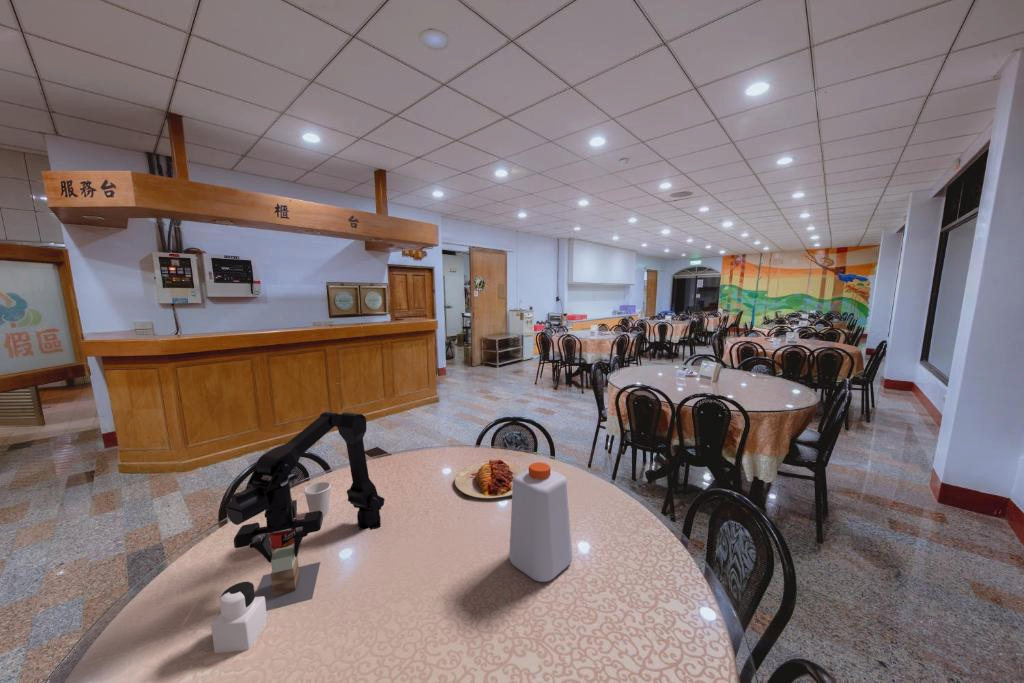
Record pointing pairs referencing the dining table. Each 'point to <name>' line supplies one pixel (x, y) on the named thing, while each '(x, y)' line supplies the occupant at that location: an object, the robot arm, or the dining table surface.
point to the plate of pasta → (489, 478)
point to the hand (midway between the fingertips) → (284, 558)
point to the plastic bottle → (540, 523)
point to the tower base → (286, 586)
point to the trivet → (301, 594)
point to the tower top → (285, 575)
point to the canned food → (283, 537)
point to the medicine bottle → (238, 619)
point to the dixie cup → (318, 497)
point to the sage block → (283, 559)
